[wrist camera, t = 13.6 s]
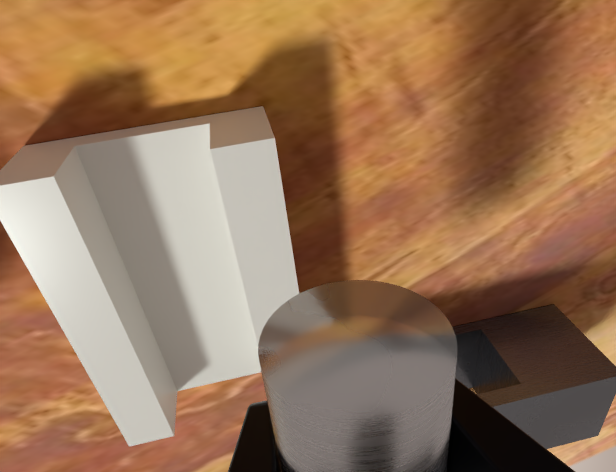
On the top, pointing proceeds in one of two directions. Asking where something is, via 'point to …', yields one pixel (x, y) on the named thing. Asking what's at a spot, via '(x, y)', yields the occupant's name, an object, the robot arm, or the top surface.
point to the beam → (538, 374)
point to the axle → (359, 379)
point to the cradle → (156, 254)
